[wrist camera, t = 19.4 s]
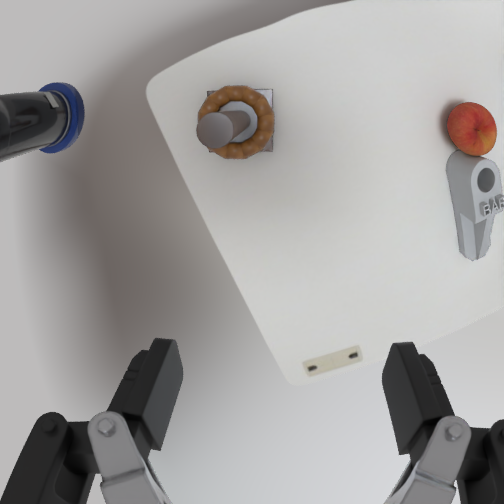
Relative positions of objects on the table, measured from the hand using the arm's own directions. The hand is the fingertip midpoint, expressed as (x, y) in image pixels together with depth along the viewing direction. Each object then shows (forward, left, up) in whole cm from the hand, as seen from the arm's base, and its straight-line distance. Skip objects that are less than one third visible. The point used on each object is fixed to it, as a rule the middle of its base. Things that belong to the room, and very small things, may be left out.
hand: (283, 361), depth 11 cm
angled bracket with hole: (+31, -3, -33) cm, 45 cm away
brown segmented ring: (-5, +7, -31) cm, 32 cm away
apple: (+27, +9, -33) cm, 43 cm away
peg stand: (-4, +7, -33) cm, 34 cm away
